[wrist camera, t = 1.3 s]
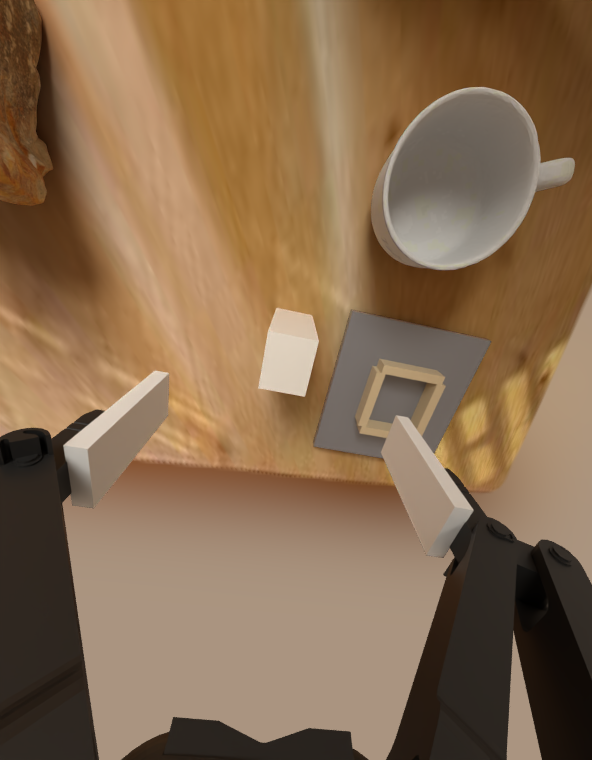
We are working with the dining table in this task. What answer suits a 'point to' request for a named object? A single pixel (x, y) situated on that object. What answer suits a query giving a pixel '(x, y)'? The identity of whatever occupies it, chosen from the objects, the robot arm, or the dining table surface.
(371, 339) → the socket plate
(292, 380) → the plug
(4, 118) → the rough brown rock
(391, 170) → the teacup
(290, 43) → the dining table surface
